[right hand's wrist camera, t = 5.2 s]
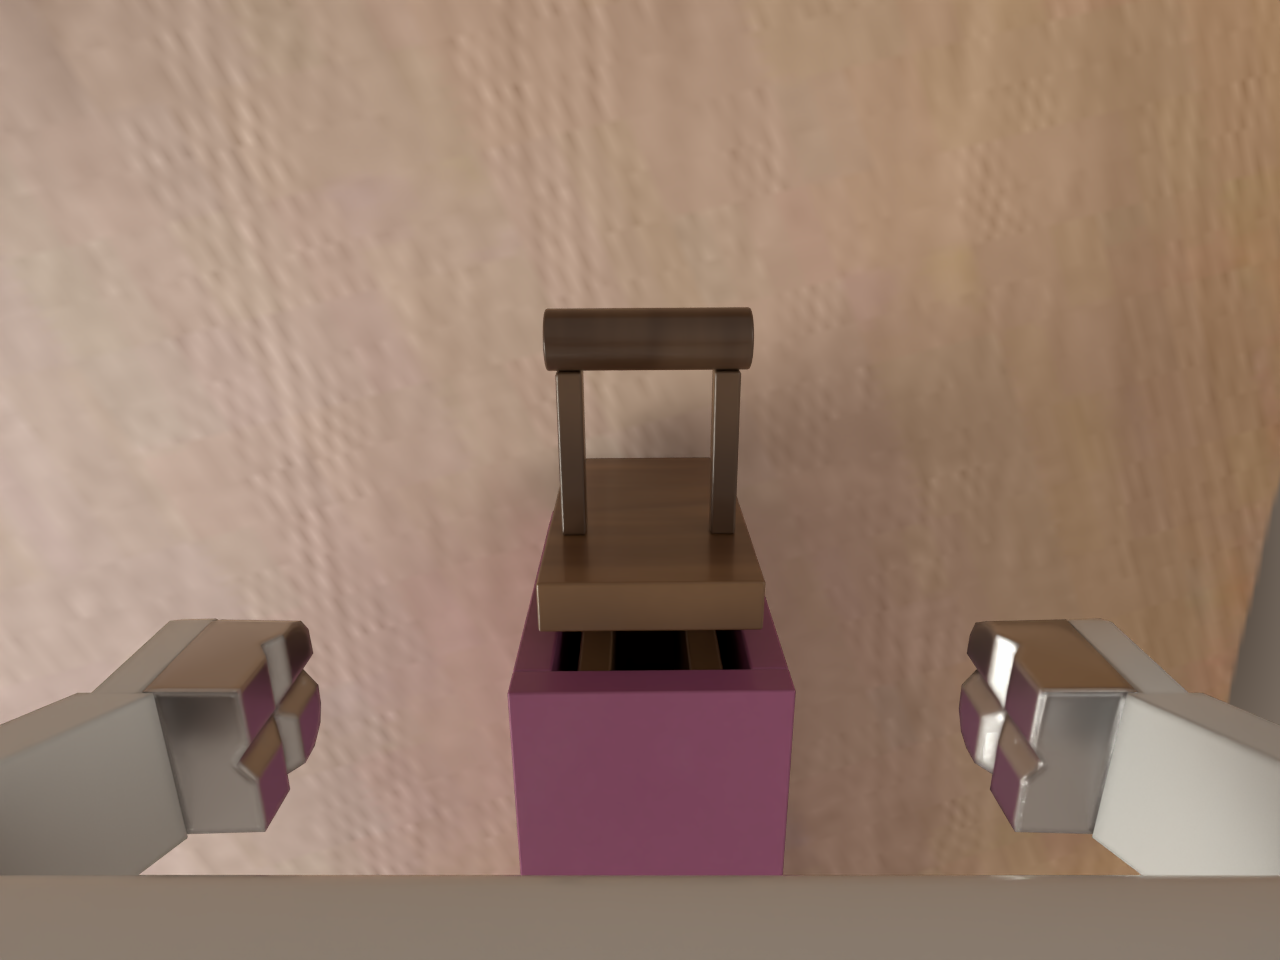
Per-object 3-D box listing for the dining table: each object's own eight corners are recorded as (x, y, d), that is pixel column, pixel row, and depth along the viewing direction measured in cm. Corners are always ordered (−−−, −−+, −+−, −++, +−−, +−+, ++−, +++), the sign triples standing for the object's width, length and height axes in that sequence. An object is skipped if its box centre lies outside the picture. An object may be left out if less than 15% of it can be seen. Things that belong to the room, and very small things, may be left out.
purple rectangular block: (552, 509, 27) (507, 693, 17) (737, 508, 27) (796, 690, 17) (572, 957, 34) (548, 1269, 24) (720, 955, 34) (755, 1266, 24)
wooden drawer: (559, 280, 23) (521, 330, 16) (729, 279, 23) (779, 328, 16) (583, 916, 32) (567, 1161, 24) (709, 915, 32) (735, 1159, 24)
